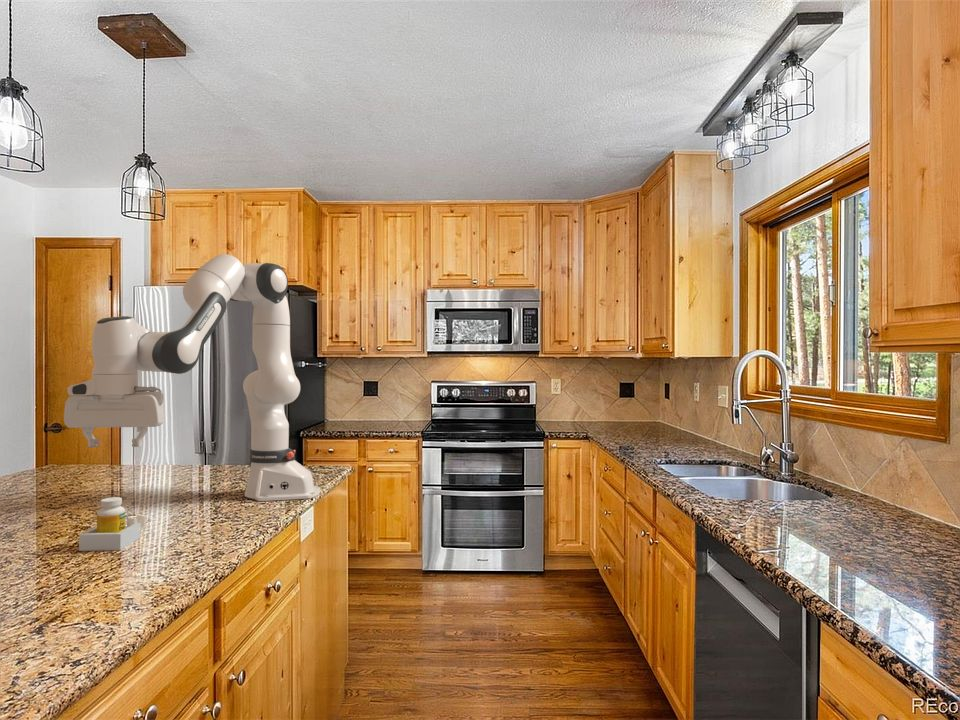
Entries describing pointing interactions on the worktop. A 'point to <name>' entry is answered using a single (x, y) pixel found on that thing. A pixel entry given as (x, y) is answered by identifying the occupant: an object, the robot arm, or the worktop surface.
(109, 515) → the supplement bottle
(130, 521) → the clip
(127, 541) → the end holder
